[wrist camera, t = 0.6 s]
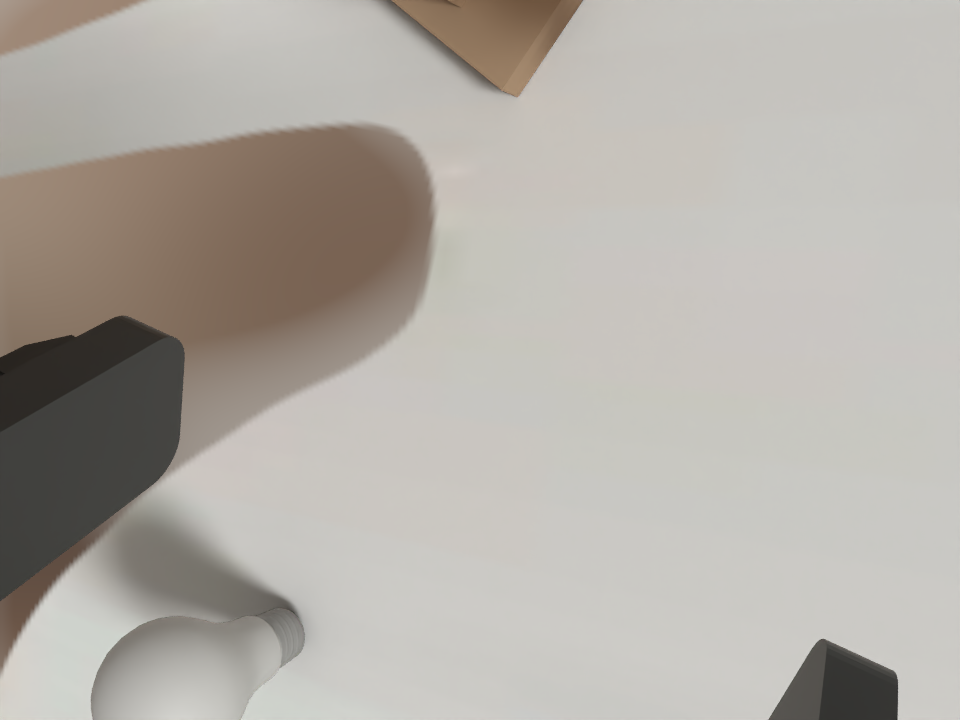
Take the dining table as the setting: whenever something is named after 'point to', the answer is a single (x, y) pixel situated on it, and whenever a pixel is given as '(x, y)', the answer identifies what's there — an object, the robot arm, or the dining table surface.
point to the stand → (496, 33)
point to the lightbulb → (193, 667)
